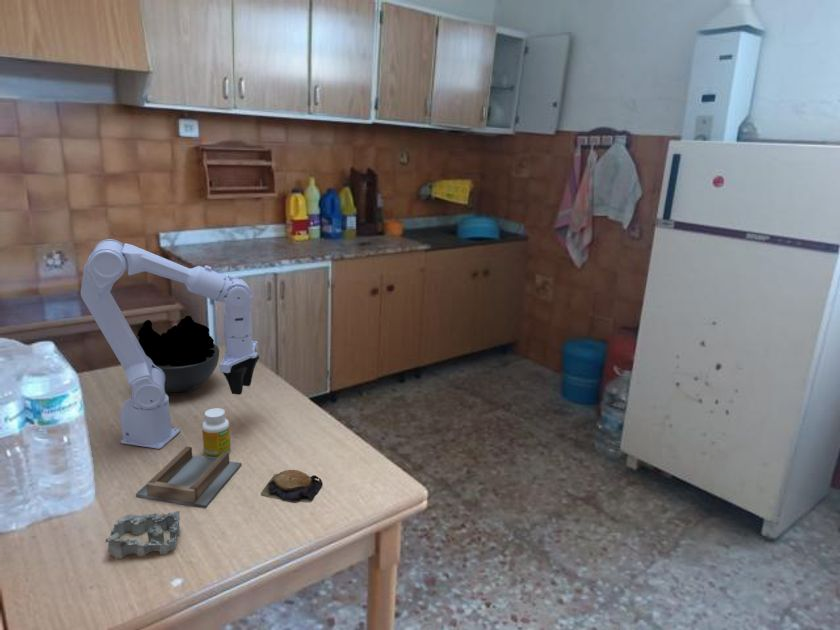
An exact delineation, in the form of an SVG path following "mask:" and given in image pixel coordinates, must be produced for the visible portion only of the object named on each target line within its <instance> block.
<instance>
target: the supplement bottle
mask: <svg viewBox="0 0 840 630" xmlns="http://www.w3.org/2000/svg"><path fill="white" fill-rule="evenodd" d="M201 431H202V441H203V442H202V445H203V455H204V457H205V458H212V459H217V458H218V457H219V456H220V455H221V454H222V453H223V452H228V453H229V454H230V453H231V435H230V434H231V433H230V421H229V420H228V419H227V418H226V411H225V409H223V408H219V407H218V408H217V407H216V408H210V409H207V410H206V411H205V412H204V421H203V422H202V426H201Z"/></svg>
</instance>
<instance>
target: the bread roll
mask: <svg viewBox="0 0 840 630" xmlns="http://www.w3.org/2000/svg"><path fill="white" fill-rule="evenodd" d="M321 489H323V481H322V479H321V478H320V477H319V476H317V475H314V474H313V475H311V476H310V475H308V474H307V473H305V472H303V471H301V470H298V469H287V470H283V471H281V472H279V473H275V474H273V475H272V477H271V478H270V479H269V480H268V482H267V484H266V485H265V487H263V490H262V491H261V492H260V496H261V497H265V498H271V499H275V500H282V501H287V502H297V503H309V504H310V503H313V501H314V500H315V498H316V497H317V494H318V493H319V492H320V491H321Z"/></svg>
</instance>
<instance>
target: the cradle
mask: <svg viewBox="0 0 840 630" xmlns="http://www.w3.org/2000/svg"><path fill="white" fill-rule="evenodd" d="M229 454H230V453H228V452H223V453H222V454H221V455H220V456H219V457H218V458H217V459H212V458H207V457H206V456H204V457H203V456H198V455H193V447H192V446H185V447H184V448H183V449H181V451H180V452H179V453H178V454H176V456H174V457H173V458H172V459H171V460H170V461H169V462H168V463H167V464H166V465H165V466H164V467H162V469H161V470H160V471H158V473H156V474H155V475H154V476H153V477H152V478H151V479H150V480H149V481H148V482H147V483H145V485H144V486H143V487H141V488H140V490H138V491H137V492H136V494H135V497H136V498H141V499H147V500H154V501H161V502H165V503H166V502H167V503H173V504H177V505H185V506H191V507H197V508H203V509H207V508H208V506H209V505H210V504H211V503H212V501H213V500H214V499H215V498H216V497H217V495H218V494H219V493H220V492H221V490H222V489H223V488H224V487H225V486H226V485H227V483H228V482H230V480H231V479H232V478H233V476H234V475H235V474H236V473H237V471H238V470H239V469H240V468H241V467H242V462H238V461H237V462H236V461H231V460H230V455H229Z"/></svg>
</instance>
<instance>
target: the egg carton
mask: <svg viewBox="0 0 840 630" xmlns="http://www.w3.org/2000/svg"><path fill="white" fill-rule="evenodd" d="M180 512H181V511H180V510H176V511H174V512H173V511H172V512H169V513H167V514H165V513H164V512H163V513H161V514H159V513H158V512H155V513H151V514H143V515H139V514H126V515H124V516H122V517H121V518H119V519H118V520H116V522H115V523H114V525H113V528H112V530H111V532H110V536H107V538H106V539H105V542H104V543H105V544H106V543H107V545H108V554H109V556H112V557H114V558H115V559H116V560H120V559H123V558H124V557H126V556H127V555H129V554H135V555H137V558H140V557H145V556H147V554H149V553H150V552H154V551H155V552H156V551H157V552H159V554H160V555H167V554H169V552H170V551H172V550H174V549H177V545H178V543H177V536H180V533H181V529H180V527H181V526H180V518H181V517H180V515H181V514H180ZM167 530H168V532H169V539H167V540H166V542H165V538H164V537H165V536H164V532H165V531H167ZM128 532H131V534H132V535H134V536H139V535H143V534H144V533H145V532H147V539H148V542H147V543H145V544H144V545H143V541H142V539H140V538H139V539H138V538H133V539H132V540H131V539H129V538H128V539H125V540H124V539H121V538H120V537H122V536H124V534H125V533H128ZM164 542H165V543H164Z"/></svg>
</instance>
